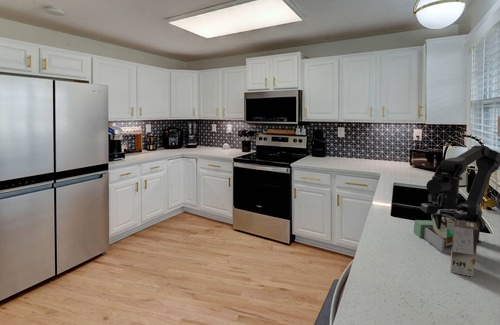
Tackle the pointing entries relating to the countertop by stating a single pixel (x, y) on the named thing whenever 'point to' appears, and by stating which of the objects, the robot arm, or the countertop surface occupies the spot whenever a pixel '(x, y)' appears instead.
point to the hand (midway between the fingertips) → (446, 229)
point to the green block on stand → (430, 235)
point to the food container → (445, 229)
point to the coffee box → (464, 247)
